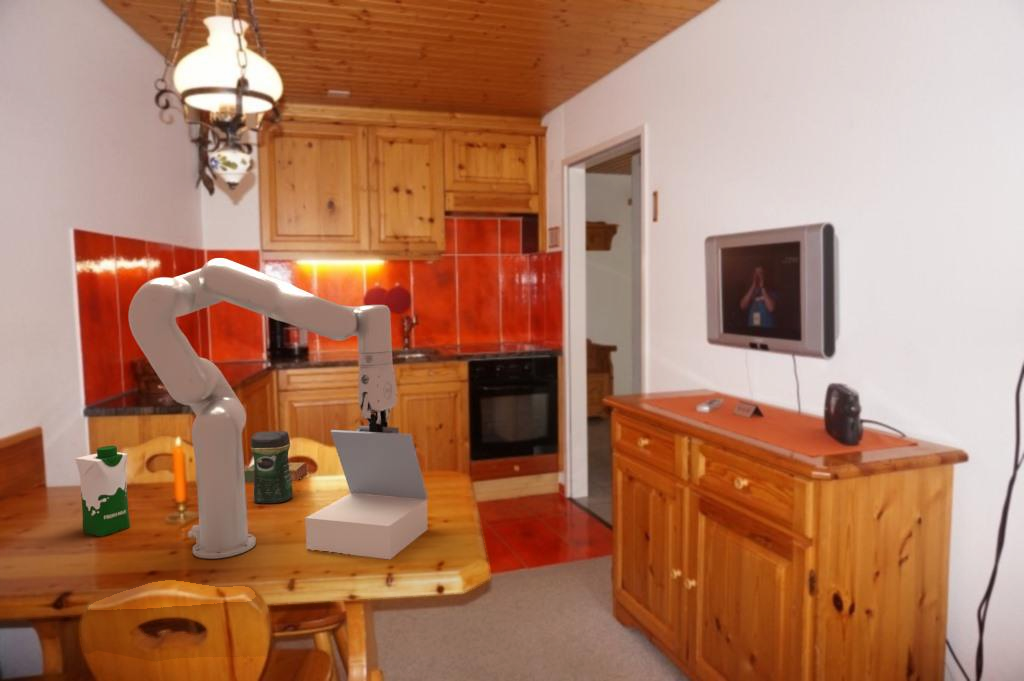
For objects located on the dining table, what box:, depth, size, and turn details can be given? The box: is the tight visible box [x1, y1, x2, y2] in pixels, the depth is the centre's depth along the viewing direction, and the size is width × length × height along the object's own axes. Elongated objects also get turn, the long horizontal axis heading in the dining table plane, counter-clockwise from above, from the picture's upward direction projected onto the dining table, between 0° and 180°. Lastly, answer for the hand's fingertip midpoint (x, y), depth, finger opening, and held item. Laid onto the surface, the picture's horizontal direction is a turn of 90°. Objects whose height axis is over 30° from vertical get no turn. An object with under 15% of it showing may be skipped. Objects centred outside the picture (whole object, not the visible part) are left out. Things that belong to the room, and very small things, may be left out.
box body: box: [304, 492, 428, 560], centre depth 150 cm, size 20×18×7 cm
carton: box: [244, 461, 308, 483], centre depth 201 cm, size 8×16×4 cm, turn 88°
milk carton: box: [75, 445, 131, 538], centre depth 158 cm, size 9×9×20 cm
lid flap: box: [330, 425, 429, 500], centre depth 156 cm, size 20×18×4 cm
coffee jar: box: [250, 430, 294, 504], centre depth 180 cm, size 10×8×19 cm
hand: (379, 439), depth 154 cm, fingers closed
